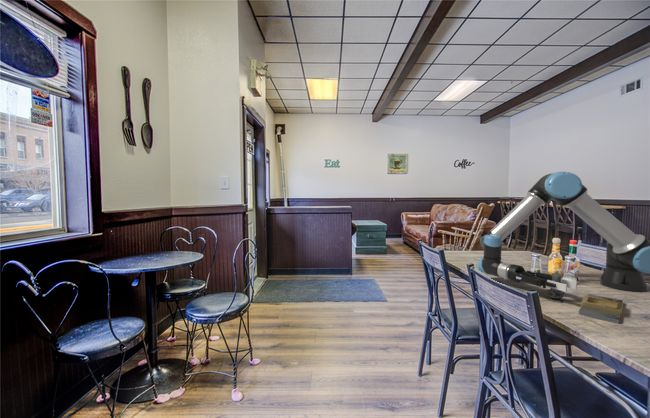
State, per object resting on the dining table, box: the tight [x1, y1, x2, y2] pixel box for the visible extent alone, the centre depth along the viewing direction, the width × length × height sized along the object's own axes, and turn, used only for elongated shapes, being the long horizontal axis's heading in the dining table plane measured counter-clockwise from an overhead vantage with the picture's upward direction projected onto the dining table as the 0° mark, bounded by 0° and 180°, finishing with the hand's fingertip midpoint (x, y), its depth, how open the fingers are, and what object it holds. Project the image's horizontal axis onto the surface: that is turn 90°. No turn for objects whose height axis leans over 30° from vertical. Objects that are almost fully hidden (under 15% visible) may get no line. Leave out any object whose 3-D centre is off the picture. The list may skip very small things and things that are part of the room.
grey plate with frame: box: [578, 293, 624, 325], centre depth 107 cm, size 26×10×2 cm, turn 132°
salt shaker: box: [546, 271, 566, 304], centre depth 116 cm, size 6×6×12 cm
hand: (571, 286), depth 111 cm, fingers open, 6 cm apart
